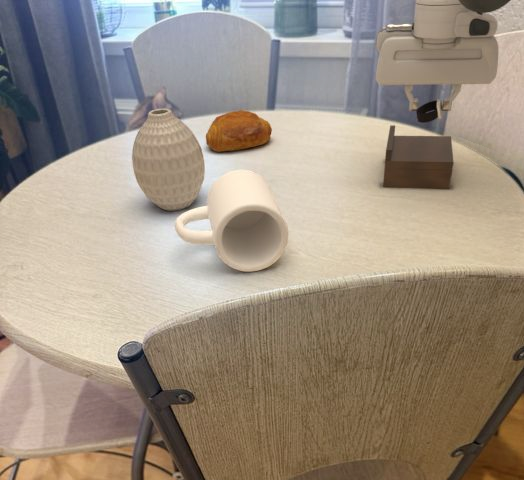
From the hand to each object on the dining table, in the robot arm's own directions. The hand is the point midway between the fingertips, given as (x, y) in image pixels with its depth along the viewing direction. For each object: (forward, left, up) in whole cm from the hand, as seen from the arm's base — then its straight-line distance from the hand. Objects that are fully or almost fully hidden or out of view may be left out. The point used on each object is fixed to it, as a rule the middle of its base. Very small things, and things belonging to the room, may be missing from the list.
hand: (429, 110), depth 97 cm
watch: (0, 0, -2) cm, 2 cm away
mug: (+29, +35, -12) cm, 47 cm away
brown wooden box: (+1, 0, -12) cm, 12 cm away
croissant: (+42, -16, -12) cm, 47 cm away
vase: (+45, +18, -12) cm, 50 cm away
